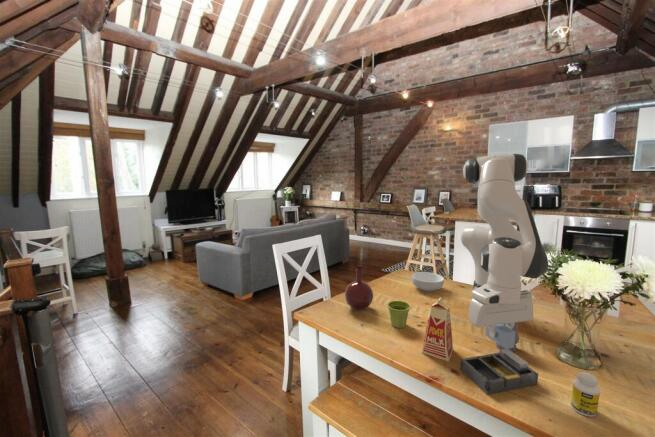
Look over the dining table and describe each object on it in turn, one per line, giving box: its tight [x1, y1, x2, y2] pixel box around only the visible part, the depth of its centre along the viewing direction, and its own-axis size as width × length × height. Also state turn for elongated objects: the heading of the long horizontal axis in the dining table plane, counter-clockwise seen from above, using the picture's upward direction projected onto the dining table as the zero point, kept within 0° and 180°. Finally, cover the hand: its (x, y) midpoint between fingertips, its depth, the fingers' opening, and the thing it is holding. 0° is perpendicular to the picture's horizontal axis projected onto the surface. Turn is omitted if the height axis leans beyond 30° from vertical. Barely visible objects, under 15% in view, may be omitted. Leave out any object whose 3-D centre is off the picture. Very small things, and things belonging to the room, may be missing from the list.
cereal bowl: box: [411, 271, 445, 292], centre depth 168 cm, size 17×17×7 cm
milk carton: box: [421, 296, 454, 362], centre depth 109 cm, size 9×9×20 cm
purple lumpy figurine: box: [495, 322, 520, 353], centre depth 111 cm, size 9×8×12 cm
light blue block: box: [485, 324, 515, 349], centre depth 94 cm, size 3×8×5 cm, turn 13°
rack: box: [459, 349, 539, 395], centre depth 96 cm, size 12×18×6 cm
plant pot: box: [387, 300, 412, 329], centre depth 129 cm, size 9×9×9 cm
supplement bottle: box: [570, 371, 601, 418], centre depth 82 cm, size 5×5×10 cm
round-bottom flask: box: [344, 266, 374, 311], centre depth 144 cm, size 13×13×20 cm
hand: (499, 335), depth 94 cm, fingers closed on light blue block, 3 cm apart
